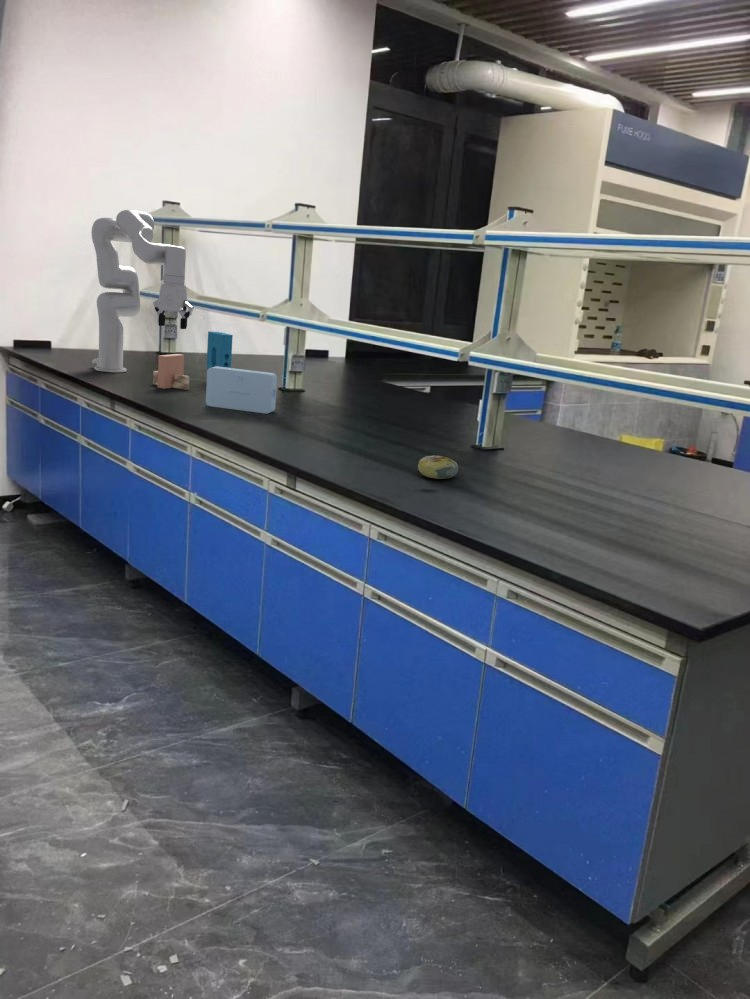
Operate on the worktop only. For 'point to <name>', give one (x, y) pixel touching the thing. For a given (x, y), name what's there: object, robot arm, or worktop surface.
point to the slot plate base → (179, 382)
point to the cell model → (438, 467)
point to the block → (219, 350)
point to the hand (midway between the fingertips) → (172, 327)
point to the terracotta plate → (169, 369)
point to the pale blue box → (241, 389)
